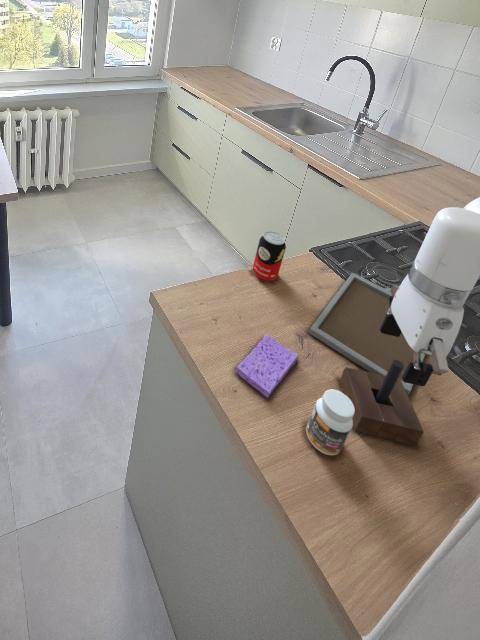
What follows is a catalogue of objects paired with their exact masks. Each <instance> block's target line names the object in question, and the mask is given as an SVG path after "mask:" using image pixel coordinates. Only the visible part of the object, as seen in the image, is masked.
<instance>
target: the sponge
mask: <svg viewBox="0 0 480 640" xmlns="http://www.w3.org/2000/svg"><path fill="white" fill-rule="evenodd" d="M298 357H299V354H297V353H296V352H295V351H292V350H291V349H290V348H288V347H286V346H284V345H282V344H281V343H280V342H278V341H277V340H276V339H274V338H273V337H272V336H270V335H269V334H267V333H266V334H265V336H263V338H262V339H261V340H260V341H259V343H258V344H257V345H256V346H255V347H254V348H253V349H252V350H251V352H250V353H249V354H248V355H247V356H246V357H245V358H243V360H242V361H240V363H239V364H238V366H237V367H236V369H235V372H236V373H237V375H239V377H241V378H242V379H243V380H244V381H245V382H247V383H248V384H249V385H251V386H252V387H253V388H254V389H256V390H257V391H258V392H259V393H261V394H262V396H265V398H267V399H268V398H269V397H270V396H271V394H272V393H273V392H274V390H275V389H276V388H277V386H278V385H279V384H280V383H281V382H282V380H283V379H284V378H285V376H286V375H287V373H288V372H289V371H290V369H291V368H292V367H293V366H294V365H295V364H296V362H297V359H298Z"/></svg>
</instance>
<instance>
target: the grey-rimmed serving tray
mask: <svg viewBox="0 0 480 640" xmlns="http://www.w3.org/2000/svg"><path fill="white" fill-rule="evenodd" d="M391 291H392V287H391V288H388V287H387V288H384V287H381V286H380V285H378V284H376V283H374V282H372V281H370V280H368V279H367V278H364V277H363V276H360V275H359V274H357V273H354V272H351V273H350V275H349V276H348V277H347V279H346V280H345V282H344V283H343V284H342V285H341V287H340V288H339V289H338V291H337V292H336V293H335V294H334V296H333V298H332V299H330V302H329V303H328V304H327V305H326V307H325V308H324V309H323V311H321V314H319V316H318V318H316V320H315V321H314V322H313V324H312V325H311V327H310V328H309V330H308V334H310V335H311V336H312V337H314V338H316V339H317V340H319V341H320V342H322V343H324V344H325V345H327V346H328V347H329V348H332V349H333V350H335V351H336V352H338V353H339V354H341V355H342V356H344V357H345V358H347V359H348V360H350V361H351V362H353V363H354V364H356V365H357V366H359V367H361V368H362V369H364V371H366V372H370V373H374V374H378V375H383V376H386V375H387V373H388V371H389V369H390V367H391V364H392V362H393V360H398V361H400V362H402V363H403V365H404V368H403V370H402V372H401V374H400V376H399V378H398V379H400V380H401V382H402V384H403V386H404V389H405V391H406V393H407V395H408V396H409V395H410V394H411V392H412V389H413V386H414V384H410V383H406V382H404V381H403V379H402V376H403V374H404V372H405V370H406V369H407V367H408V365H409V363H411V362H412V363H413V349H412V348H411V347H410V346H409V344H408V343H407V341H406V339H405V337H404V335H403V333H401V335H400V336H399V337H396V336H391V335H387V334H383V333H381V332H380V327H381V325H382V323H383V321H384V319H385V317H386V315H388V314H387V312H386V310H387V308H388V307H390V305H389V298H390V296H392V295H391ZM429 348H430V345H428V346H427V347H425V348H424V349H426V350H429ZM426 355H427V354H423V353H421V362H422V363H424V360H425V357H426Z"/></svg>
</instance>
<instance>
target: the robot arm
mask: <svg viewBox="0 0 480 640" xmlns="http://www.w3.org/2000/svg"><path fill="white" fill-rule="evenodd" d="M479 279H480V196H479V197H477V198H475V199H473V200H472V201H470V202H468V203H467V204H466V205H464V207H463V208H462V207H458V206H457V207H456V206H450V207H449V206H448V207H444V208H442V209H440V210H438V212H437V213H436V215H435V216H434V218H433V219H432V222H431V224H430V227H429V228H428V230H427V233H426V235H425V237H424V239H423V242H422V243H421V246H420V248H419V250H418V252H417V255H416V257H415V259H414V261H413V263H412V264H411V267H410V269H409V271H408V273H407V274H406V276H405V277H404V279H403V280H402V282H401V284H399V285H398V284H392V285H391V289H392V291H391V295H392V296H390V298H389V305H390V307H388V308H387V310H386V312H387V314H388V315H386V317H385V319H384V321H383V323H382V325H381V327H380V332H381V333H383V334H387V335H391V336H396V337H399V336H400V335H401V333H403V335H404V337H405V339H406V341H407V343H408V344H409V346H410V347H411V348H412V349H413V363H412V362H411V363H409V365H408V367H407V369H406V370H405V372H404V374H403V376H402V379H403V381H404V382H406V383H410V384H413V386H414V385H415V386H419V387H425V386H426V385H427V384H428V381H429V380H430V378H431V377H432V375H437V376H441V375H443V374H446V373H448V372H449V371H450V370H449V369H450V368H449V364H448V360H447V357H448V355H449V353H450V352H451V350H452V348H453V346H454V344H455V341H456V340H457V337H458V335H459V332H460V329H461V327H462V323H463V320H464V319H463V318H464V315H465V314H464V313H465V309H464V305H465V303H466V301H468V300H467V299H468V298H469V296H470V295H471V293H472V291H473V289H474V287H475V285H476V284H477V282H478V280H479ZM428 345H429V349H428V350H426V349H424V348H425V347H427V346H428ZM421 353H423V354H426V355H428V363H427V362H421Z"/></svg>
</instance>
